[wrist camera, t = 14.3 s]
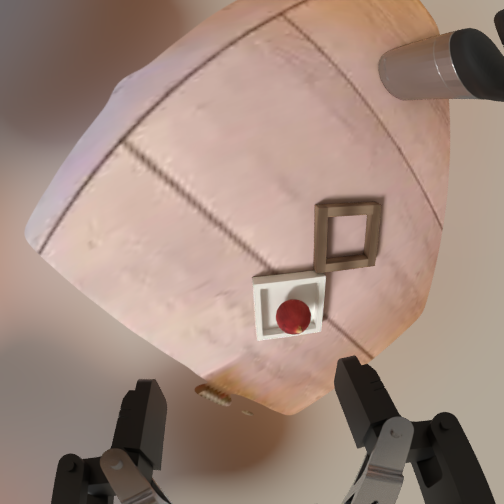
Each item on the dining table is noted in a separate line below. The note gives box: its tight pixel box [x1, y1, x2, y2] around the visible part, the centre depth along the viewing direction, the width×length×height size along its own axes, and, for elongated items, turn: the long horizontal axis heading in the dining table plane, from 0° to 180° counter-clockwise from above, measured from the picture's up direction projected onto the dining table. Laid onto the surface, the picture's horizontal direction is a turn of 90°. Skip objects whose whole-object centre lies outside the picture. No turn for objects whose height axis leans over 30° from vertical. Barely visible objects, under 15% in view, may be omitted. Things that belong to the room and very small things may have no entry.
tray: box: [252, 270, 326, 341], centre depth 48 cm, size 12×12×2 cm
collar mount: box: [313, 202, 381, 273], centre depth 44 cm, size 11×11×2 cm
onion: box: [276, 299, 311, 335], centre depth 45 cm, size 6×6×8 cm
